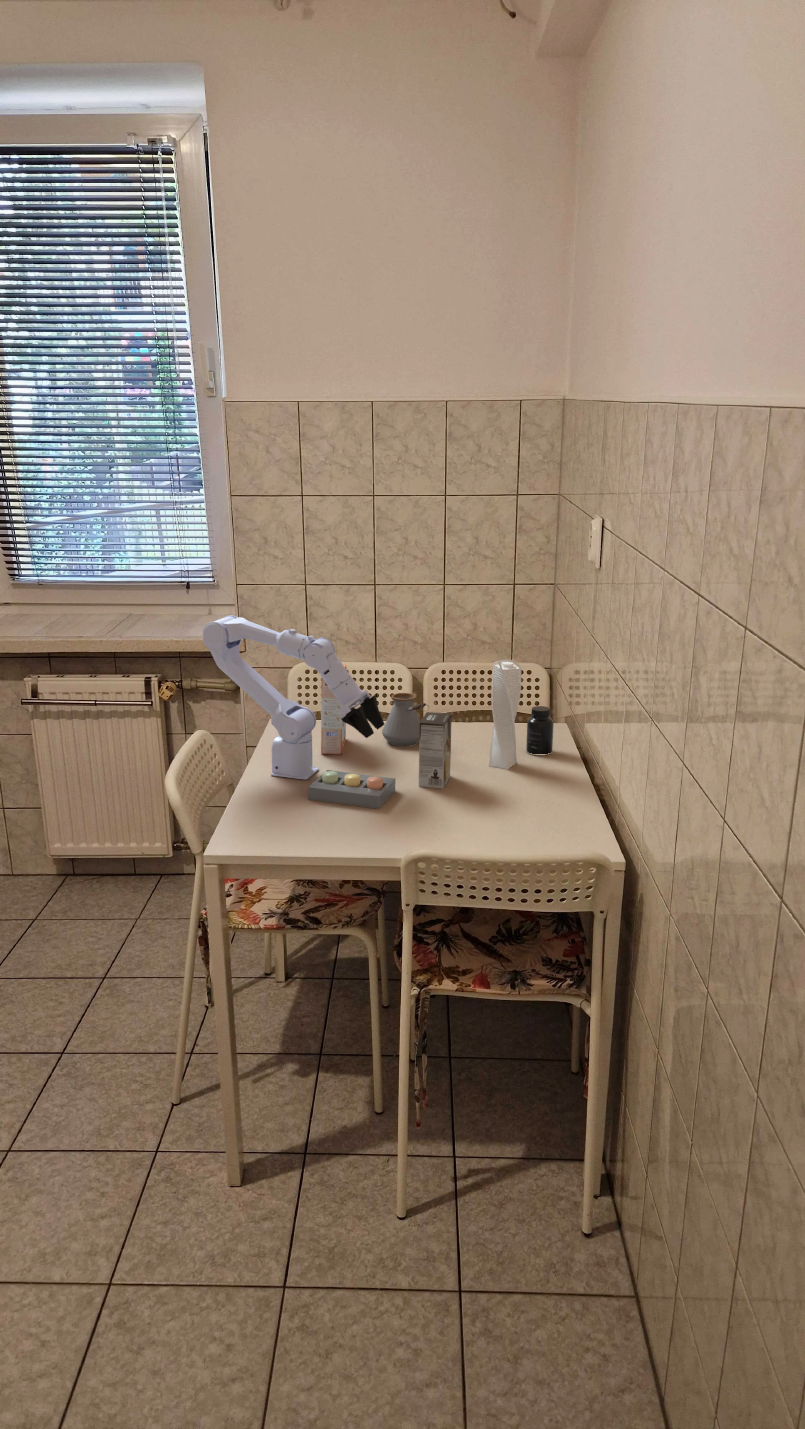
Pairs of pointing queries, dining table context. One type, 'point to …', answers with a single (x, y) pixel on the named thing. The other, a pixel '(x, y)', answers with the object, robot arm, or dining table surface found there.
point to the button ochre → (352, 780)
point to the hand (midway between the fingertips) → (375, 731)
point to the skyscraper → (504, 712)
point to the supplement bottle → (540, 731)
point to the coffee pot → (403, 721)
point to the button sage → (330, 777)
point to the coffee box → (434, 749)
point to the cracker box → (331, 722)
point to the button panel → (351, 791)
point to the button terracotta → (375, 783)
